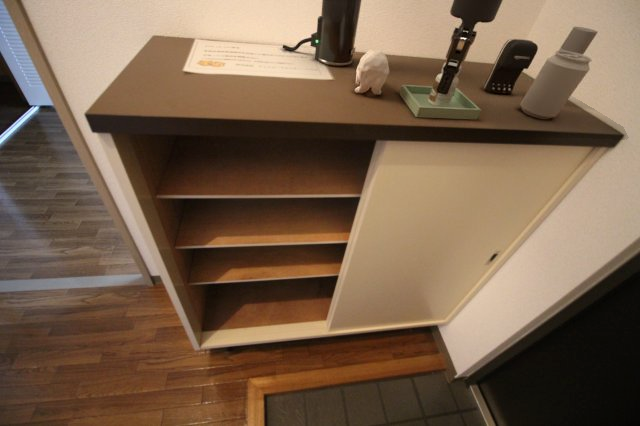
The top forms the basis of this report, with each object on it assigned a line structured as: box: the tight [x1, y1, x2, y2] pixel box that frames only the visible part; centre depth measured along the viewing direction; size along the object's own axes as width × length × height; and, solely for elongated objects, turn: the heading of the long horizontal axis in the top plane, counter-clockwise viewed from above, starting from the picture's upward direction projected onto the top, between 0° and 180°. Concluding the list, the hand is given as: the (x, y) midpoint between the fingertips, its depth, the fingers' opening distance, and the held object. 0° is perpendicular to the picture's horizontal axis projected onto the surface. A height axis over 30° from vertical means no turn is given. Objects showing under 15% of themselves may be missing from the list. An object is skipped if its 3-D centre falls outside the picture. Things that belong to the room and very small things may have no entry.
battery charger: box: [483, 38, 539, 95], centre depth 67 cm, size 7×4×11 cm, turn 92°
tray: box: [399, 84, 482, 121], centre depth 60 cm, size 13×11×2 cm
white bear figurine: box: [354, 49, 390, 96], centre depth 62 cm, size 6×8×12 cm
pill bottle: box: [428, 61, 463, 107], centre depth 58 cm, size 4×4×8 cm
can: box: [520, 50, 593, 120], centre depth 60 cm, size 8×8×12 cm
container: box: [558, 26, 598, 55], centre depth 65 cm, size 5×5×15 cm
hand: (443, 87), depth 58 cm, fingers open, 5 cm apart
